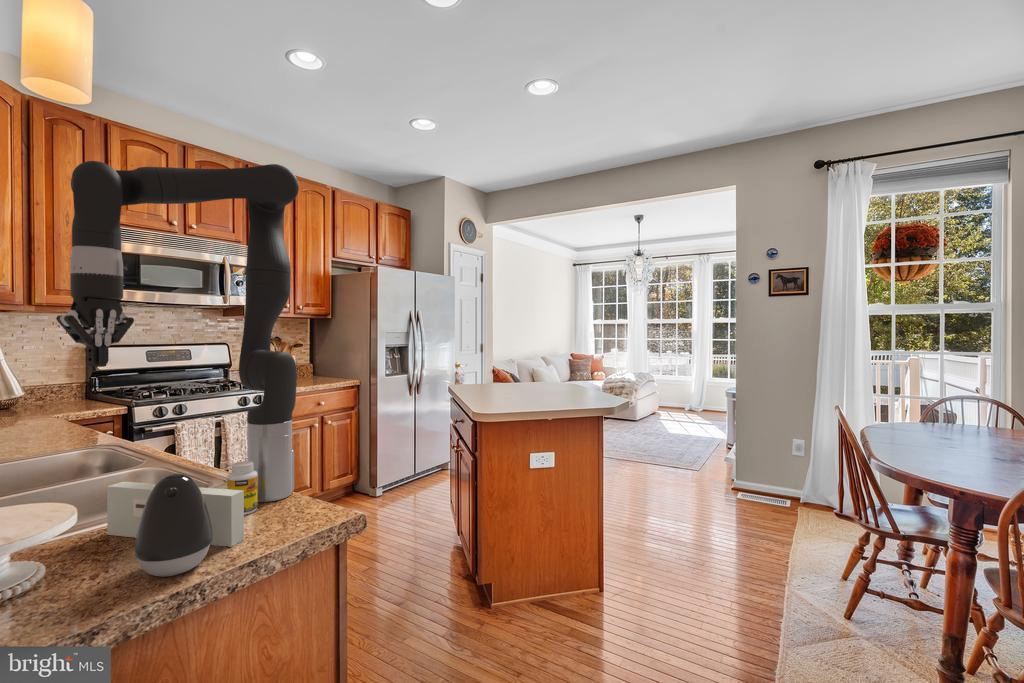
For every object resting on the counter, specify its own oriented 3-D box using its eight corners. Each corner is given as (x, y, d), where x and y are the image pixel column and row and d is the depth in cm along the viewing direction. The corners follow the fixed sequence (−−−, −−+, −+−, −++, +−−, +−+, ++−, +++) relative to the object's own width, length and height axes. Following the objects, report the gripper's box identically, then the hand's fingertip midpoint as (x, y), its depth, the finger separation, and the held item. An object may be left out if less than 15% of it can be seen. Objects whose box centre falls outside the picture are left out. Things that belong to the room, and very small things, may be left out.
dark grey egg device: (126, 592, 71) (125, 487, 71) (142, 561, 80) (142, 469, 80) (209, 576, 75) (208, 478, 75) (215, 549, 85) (215, 462, 84)
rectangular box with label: (123, 528, 93) (122, 481, 93) (243, 539, 89) (243, 490, 89) (105, 535, 90) (104, 487, 90) (229, 548, 85) (229, 496, 85)
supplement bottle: (231, 519, 98) (231, 468, 98) (223, 511, 102) (223, 463, 102) (261, 512, 102) (261, 463, 102) (253, 505, 106) (252, 458, 106)
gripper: (76, 268, 84) (77, 369, 84) (147, 277, 97) (147, 364, 97) (40, 269, 85) (41, 368, 85) (115, 277, 98) (115, 364, 98)
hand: (98, 366), depth 91 cm, fingers closed
